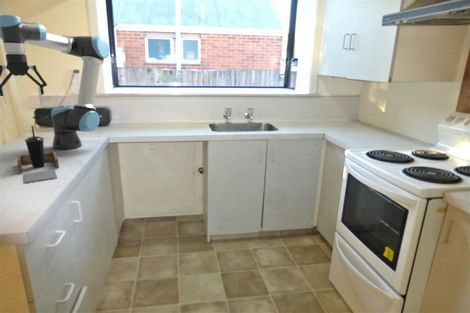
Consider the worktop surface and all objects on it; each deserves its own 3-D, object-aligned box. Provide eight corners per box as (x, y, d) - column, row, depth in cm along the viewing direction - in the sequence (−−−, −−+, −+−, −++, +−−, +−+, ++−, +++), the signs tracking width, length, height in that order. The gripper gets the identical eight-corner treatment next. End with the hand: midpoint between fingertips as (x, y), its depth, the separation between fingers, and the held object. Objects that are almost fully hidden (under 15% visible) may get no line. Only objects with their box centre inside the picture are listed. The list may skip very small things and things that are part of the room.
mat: (54, 170, 152) (54, 169, 151) (57, 178, 142) (57, 177, 142) (24, 174, 145) (24, 173, 145) (24, 183, 136) (24, 182, 136)
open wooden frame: (56, 159, 167) (54, 151, 166) (58, 168, 155) (57, 159, 154) (19, 164, 159) (17, 155, 158) (19, 173, 147) (17, 164, 145)
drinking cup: (51, 164, 160) (44, 124, 155) (42, 169, 153) (35, 127, 147) (35, 164, 160) (28, 124, 154) (26, 169, 153) (18, 127, 147)
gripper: (47, 54, 151) (54, 100, 157) (-20, 53, 138) (-10, 103, 144) (49, 54, 145) (55, 102, 151) (-22, 52, 132) (-11, 105, 138)
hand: (24, 102), depth 148 cm, fingers open, 13 cm apart
